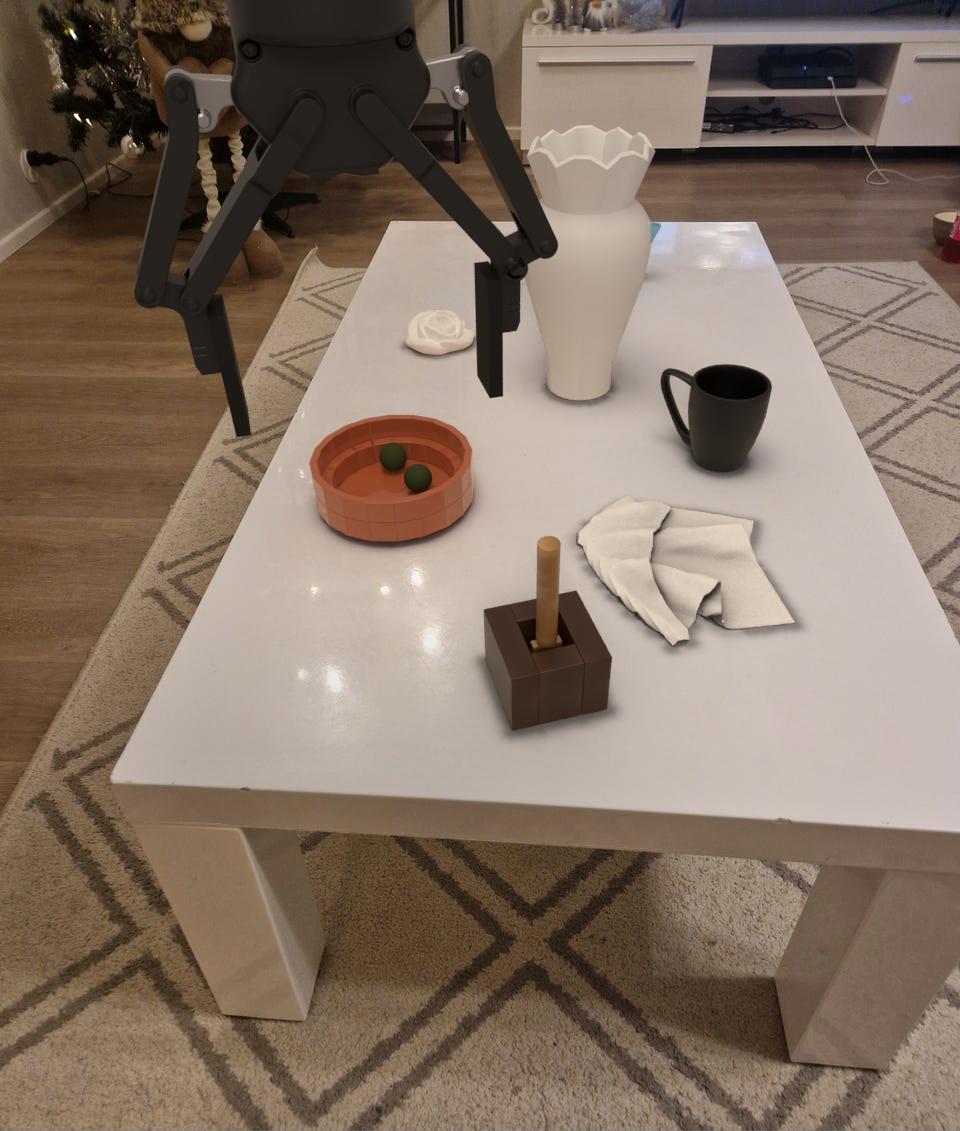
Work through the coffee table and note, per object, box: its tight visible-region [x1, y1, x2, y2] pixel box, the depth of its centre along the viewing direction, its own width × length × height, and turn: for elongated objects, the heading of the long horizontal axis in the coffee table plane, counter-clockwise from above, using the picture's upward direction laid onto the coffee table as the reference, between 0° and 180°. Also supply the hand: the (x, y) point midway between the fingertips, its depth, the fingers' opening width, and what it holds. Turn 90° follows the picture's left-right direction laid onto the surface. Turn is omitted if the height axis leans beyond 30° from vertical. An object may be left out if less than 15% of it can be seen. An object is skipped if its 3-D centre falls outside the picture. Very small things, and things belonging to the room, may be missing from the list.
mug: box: [660, 363, 773, 473], centre depth 94 cm, size 8×12×10 cm
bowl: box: [308, 414, 475, 542], centre depth 90 cm, size 17×17×6 cm
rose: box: [405, 309, 476, 356], centre depth 119 cm, size 10×4×10 cm
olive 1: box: [379, 443, 407, 471], centre depth 94 cm, size 3×3×3 cm
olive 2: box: [404, 464, 432, 492], centre depth 91 cm, size 3×3×3 cm
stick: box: [530, 535, 562, 654], centre depth 66 cm, size 2×2×15 cm
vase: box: [524, 124, 656, 401], centre depth 100 cm, size 15×15×29 cm
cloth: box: [575, 495, 795, 646], centre depth 81 cm, size 20×22×2 cm
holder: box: [483, 589, 613, 732], centre depth 69 cm, size 8×8×6 cm
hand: (369, 405), depth 47 cm, fingers open, 13 cm apart
